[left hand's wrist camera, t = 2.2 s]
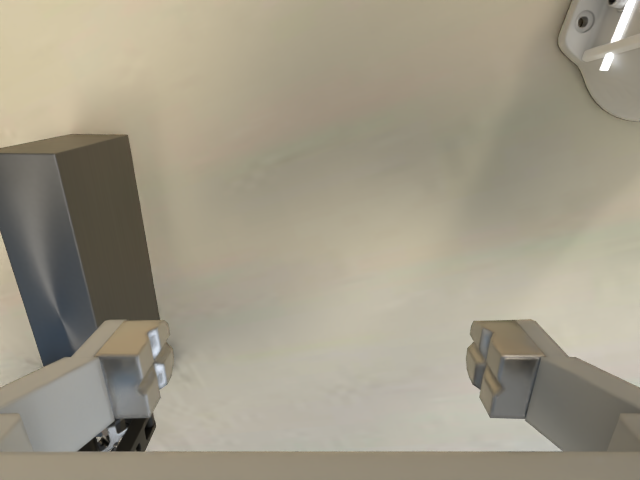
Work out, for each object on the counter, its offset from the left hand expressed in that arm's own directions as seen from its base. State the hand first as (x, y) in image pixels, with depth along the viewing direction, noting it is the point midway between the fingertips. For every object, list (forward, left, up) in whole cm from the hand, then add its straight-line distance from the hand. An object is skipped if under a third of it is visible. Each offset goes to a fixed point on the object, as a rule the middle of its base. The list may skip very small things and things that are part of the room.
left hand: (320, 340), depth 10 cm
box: (+12, -22, -31) cm, 39 cm away
